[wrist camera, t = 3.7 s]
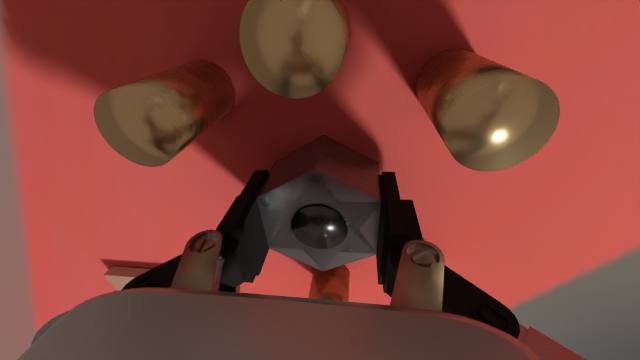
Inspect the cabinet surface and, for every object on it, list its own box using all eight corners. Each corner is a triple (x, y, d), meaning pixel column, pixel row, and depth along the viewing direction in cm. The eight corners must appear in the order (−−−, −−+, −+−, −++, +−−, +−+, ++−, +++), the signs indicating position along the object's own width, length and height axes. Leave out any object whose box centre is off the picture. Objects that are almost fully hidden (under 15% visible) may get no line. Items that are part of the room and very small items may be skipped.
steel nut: (271, 135, 12) (247, 168, 10) (380, 134, 12) (385, 171, 9) (286, 225, 15) (272, 269, 13) (372, 229, 15) (375, 276, 12)
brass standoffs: (152, 2, 10) (26, 0, 6) (511, -27, 8) (640, -54, 4) (246, 277, 19) (218, 344, 15) (425, 291, 17) (443, 370, 13)
